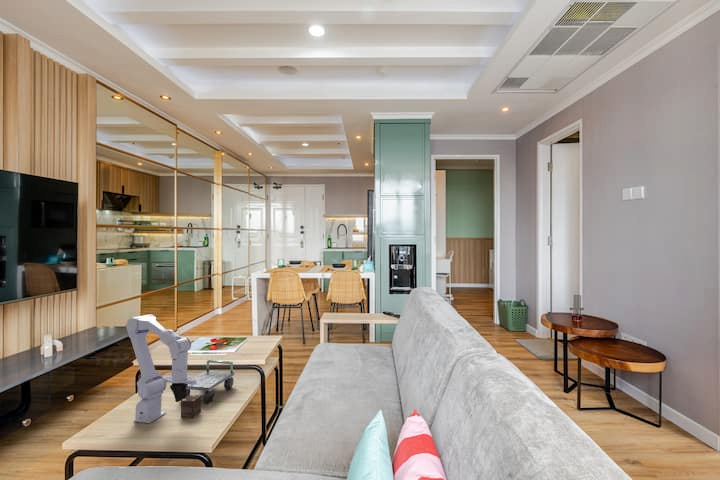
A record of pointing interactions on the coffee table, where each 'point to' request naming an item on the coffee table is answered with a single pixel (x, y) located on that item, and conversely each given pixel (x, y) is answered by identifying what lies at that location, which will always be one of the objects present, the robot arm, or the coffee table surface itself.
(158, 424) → the coffee table surface
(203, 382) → the trolley
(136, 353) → the robot arm
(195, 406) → the box
